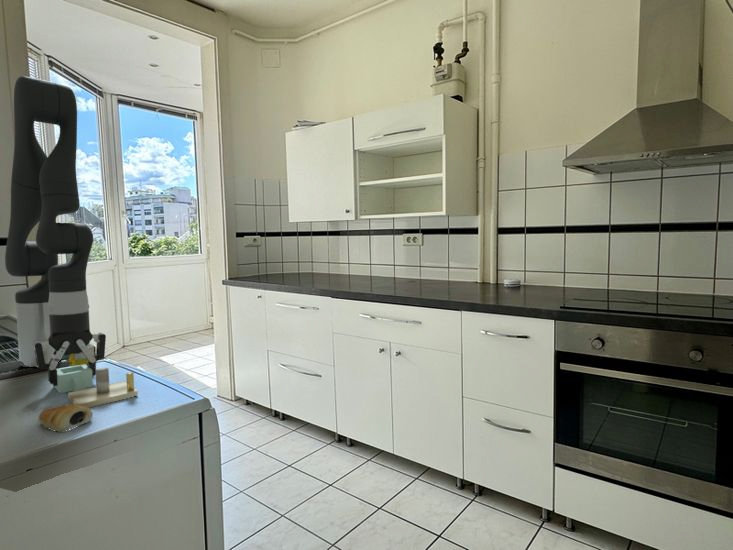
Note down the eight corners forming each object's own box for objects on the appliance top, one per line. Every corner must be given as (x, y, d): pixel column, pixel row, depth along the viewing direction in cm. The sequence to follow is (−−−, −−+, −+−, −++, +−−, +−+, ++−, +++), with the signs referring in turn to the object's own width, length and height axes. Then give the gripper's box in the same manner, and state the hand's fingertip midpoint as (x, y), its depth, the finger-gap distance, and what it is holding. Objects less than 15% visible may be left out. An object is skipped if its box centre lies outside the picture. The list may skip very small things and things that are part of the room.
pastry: (27, 427, 80) (26, 406, 79) (64, 413, 86) (63, 394, 86) (61, 435, 76) (61, 414, 76) (97, 421, 83) (97, 401, 82)
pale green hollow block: (53, 386, 100) (52, 369, 100) (85, 379, 105) (85, 363, 105) (63, 398, 93) (62, 380, 93) (97, 390, 98) (96, 373, 97)
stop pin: (126, 390, 95) (125, 373, 94) (133, 388, 96) (132, 372, 95) (128, 391, 94) (127, 374, 94) (135, 390, 95) (134, 373, 95)
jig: (68, 398, 93) (66, 370, 93) (124, 386, 101) (123, 360, 100) (78, 410, 87) (77, 380, 86) (137, 396, 95) (136, 368, 94)
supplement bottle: (94, 374, 109) (92, 337, 108) (68, 377, 107) (66, 339, 106) (95, 368, 114) (94, 332, 113) (71, 371, 111) (69, 334, 111)
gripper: (100, 305, 107) (103, 371, 108) (27, 312, 96) (31, 384, 98) (109, 308, 101) (112, 378, 103) (32, 316, 91) (37, 393, 93)
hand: (73, 381), depth 100 cm, fingers closed on pale green hollow block, 6 cm apart
